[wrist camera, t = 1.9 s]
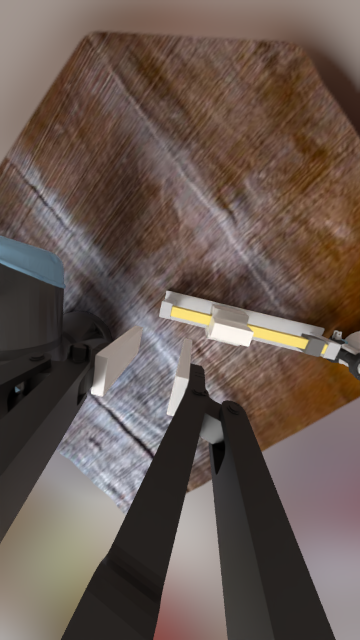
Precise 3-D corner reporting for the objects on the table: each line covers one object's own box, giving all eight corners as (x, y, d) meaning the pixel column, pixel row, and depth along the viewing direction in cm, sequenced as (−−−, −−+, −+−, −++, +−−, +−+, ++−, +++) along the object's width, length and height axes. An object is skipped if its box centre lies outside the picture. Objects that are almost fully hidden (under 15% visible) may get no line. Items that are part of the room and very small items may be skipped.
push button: (320, 329, 36) (364, 348, 27) (348, 329, 36) (403, 348, 26) (316, 358, 38) (355, 385, 28) (343, 359, 37) (392, 387, 28)
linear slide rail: (162, 316, 39) (155, 323, 33) (167, 290, 38) (161, 292, 31) (310, 353, 38) (333, 367, 31) (322, 327, 36) (348, 338, 30)
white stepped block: (205, 329, 36) (207, 346, 27) (212, 303, 35) (217, 312, 25) (233, 336, 36) (245, 356, 27) (241, 310, 34) (257, 322, 25)
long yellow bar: (166, 315, 35) (163, 318, 32) (169, 300, 34) (167, 302, 31) (324, 354, 34) (335, 361, 31) (330, 340, 33) (343, 345, 30)
